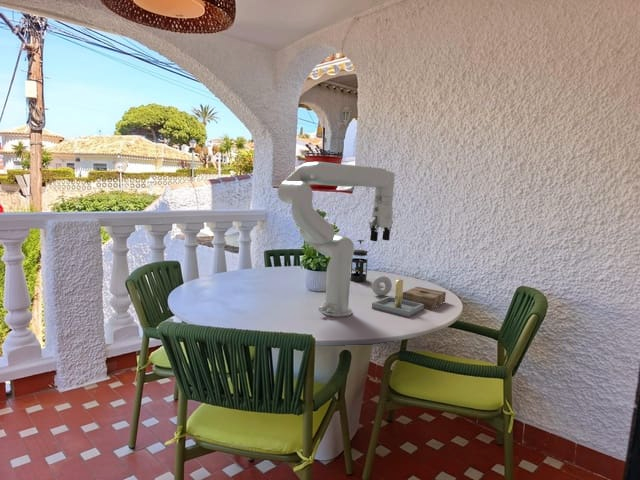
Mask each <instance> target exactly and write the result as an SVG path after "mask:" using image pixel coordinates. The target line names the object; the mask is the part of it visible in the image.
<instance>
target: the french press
mask: <svg viewBox="0 0 640 480" xmlns="http://www.w3.org/2000/svg"><path fill="white" fill-rule="evenodd" d="M356 241H357V242H359V249H354V253H353V256H356V257H357V256H358V257H357V258H356V257H355V258H354V257H352V262H351V270H350V282H353V283H366V282H367V281H368V280H367V276H368V275H367V274H368V273H367V272H368V259H366V258H361V257H367V256H368V253H369V251H368V250H366V249H365V250H364V249H361V246H362V242H365V240H363V239H357V240H356ZM353 263H355V267H353ZM364 264H365V265H364ZM364 266H365V268H364ZM353 272H354V273H353Z"/></svg>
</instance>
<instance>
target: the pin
mask: <svg viewBox="0 0 640 480" xmlns="http://www.w3.org/2000/svg"><path fill="white" fill-rule="evenodd" d="M403 289H404V279H400V278H397V279H395V290H394V292H395V293H394V298H395V304H394V307H395V308H401V306H402V295H403V292H404V291H403Z"/></svg>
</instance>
